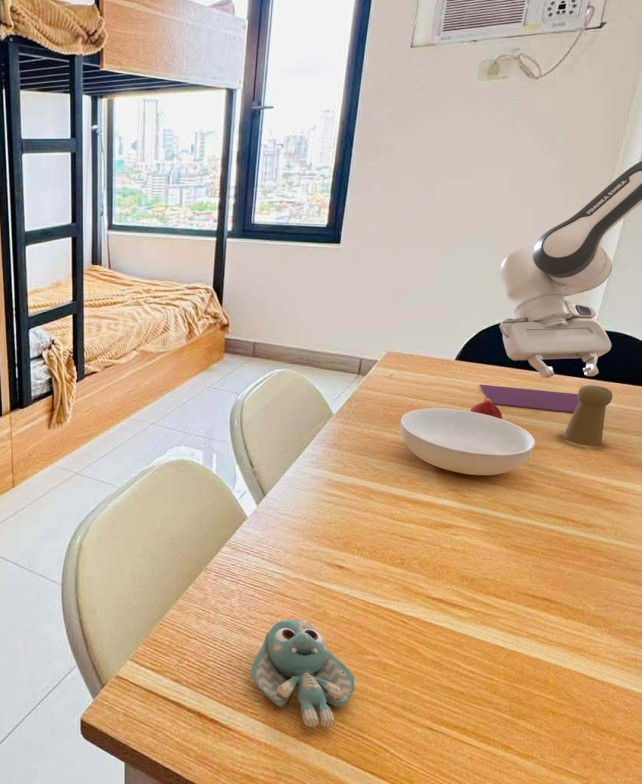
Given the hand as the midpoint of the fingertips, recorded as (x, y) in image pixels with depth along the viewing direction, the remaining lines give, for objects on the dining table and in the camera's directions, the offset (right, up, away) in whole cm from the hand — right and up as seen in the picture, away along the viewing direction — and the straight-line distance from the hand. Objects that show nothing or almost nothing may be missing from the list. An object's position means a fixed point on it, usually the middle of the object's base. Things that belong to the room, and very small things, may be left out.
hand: (570, 375), depth 127 cm
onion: (-18, -12, +1) cm, 22 cm away
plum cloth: (+7, -5, +19) cm, 21 cm away
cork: (+1, -13, -2) cm, 13 cm away
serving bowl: (-30, -17, -11) cm, 36 cm away
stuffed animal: (-78, -35, -60) cm, 105 cm away
